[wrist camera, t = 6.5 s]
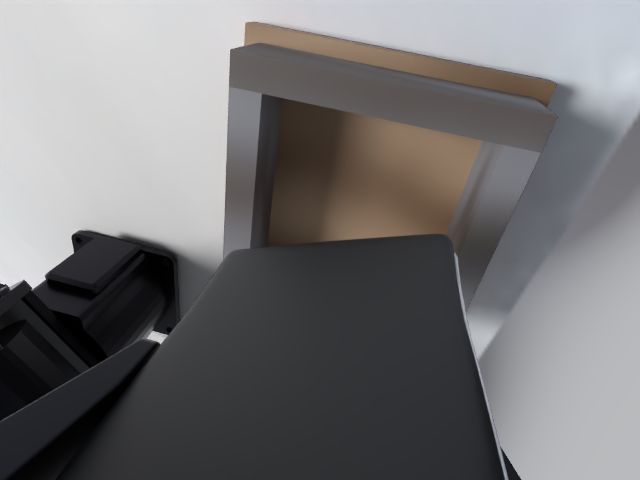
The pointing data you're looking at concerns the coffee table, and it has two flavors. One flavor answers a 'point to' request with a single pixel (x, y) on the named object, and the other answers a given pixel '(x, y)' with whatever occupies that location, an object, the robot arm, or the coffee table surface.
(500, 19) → the coffee table surface
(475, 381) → the battery charger
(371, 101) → the dock
